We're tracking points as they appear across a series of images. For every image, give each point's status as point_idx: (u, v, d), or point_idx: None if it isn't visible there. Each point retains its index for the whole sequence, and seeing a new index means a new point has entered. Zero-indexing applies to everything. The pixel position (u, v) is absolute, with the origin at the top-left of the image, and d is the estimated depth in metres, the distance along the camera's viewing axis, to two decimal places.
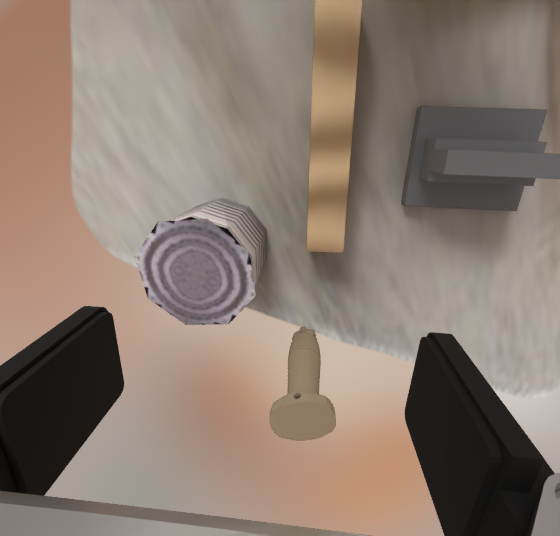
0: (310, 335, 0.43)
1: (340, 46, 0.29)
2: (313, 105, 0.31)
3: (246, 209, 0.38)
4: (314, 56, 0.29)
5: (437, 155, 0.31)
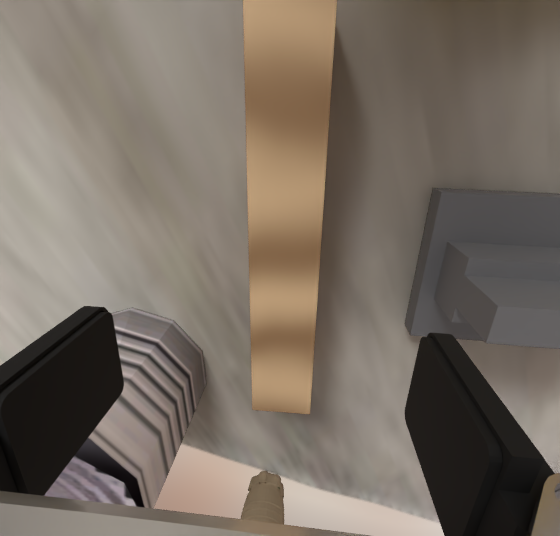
0: (271, 494, 0.29)
1: (296, 101, 0.15)
2: (251, 200, 0.17)
3: (165, 333, 0.25)
4: (248, 118, 0.16)
5: (471, 293, 0.17)
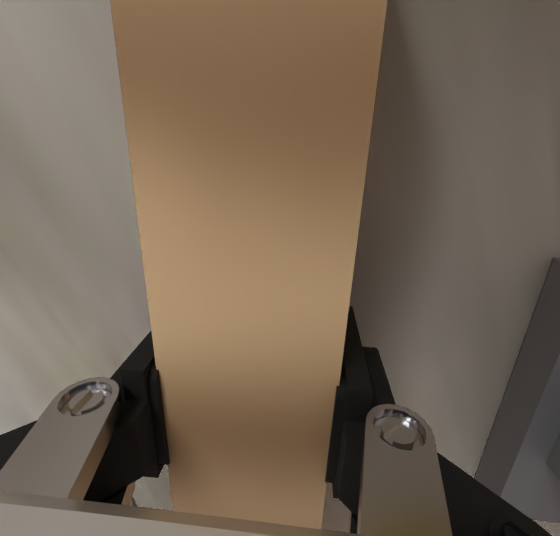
0: None
1: (271, 66, 0.05)
2: (159, 326, 0.07)
3: None
4: (131, 115, 0.05)
5: None
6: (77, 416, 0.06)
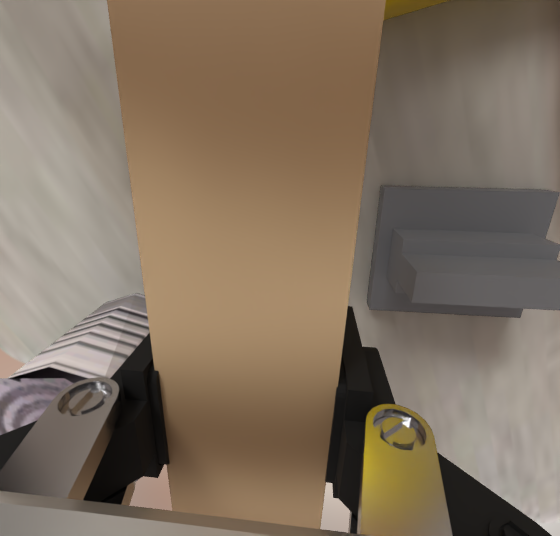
0: None
1: (269, 67, 0.05)
2: (157, 328, 0.07)
3: None
4: (128, 116, 0.05)
5: (405, 266, 0.21)
6: (77, 416, 0.06)
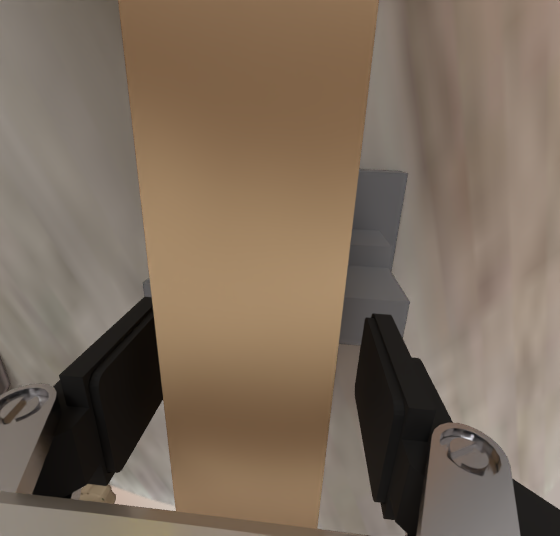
0: None
1: (269, 61, 0.05)
2: (161, 313, 0.07)
3: None
4: (136, 108, 0.06)
5: None
6: (12, 423, 0.06)
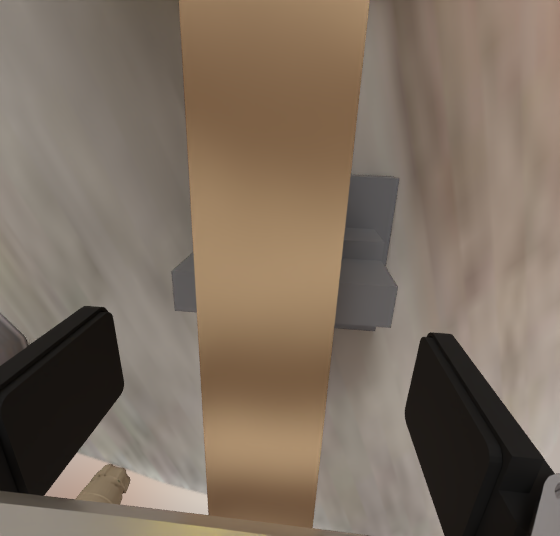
0: (105, 486, 0.29)
1: (287, 102, 0.07)
2: (201, 286, 0.09)
3: None
4: (191, 134, 0.08)
5: None
6: None
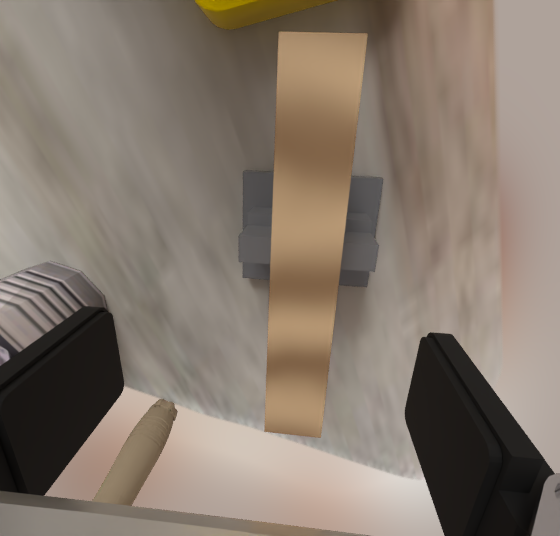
0: (161, 412, 0.38)
1: (322, 145, 0.16)
2: (274, 233, 0.18)
3: (70, 277, 0.33)
4: (276, 158, 0.17)
5: None
6: None
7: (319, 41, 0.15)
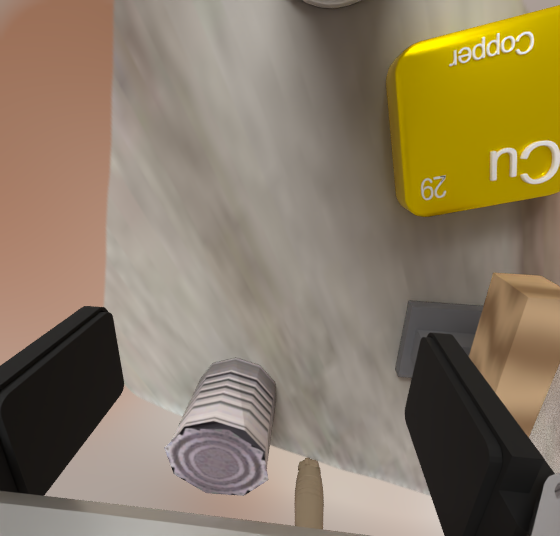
0: (314, 471, 0.47)
1: (541, 353, 0.26)
2: None
3: (258, 373, 0.43)
4: (508, 358, 0.26)
5: None
6: None
7: (553, 303, 0.24)
